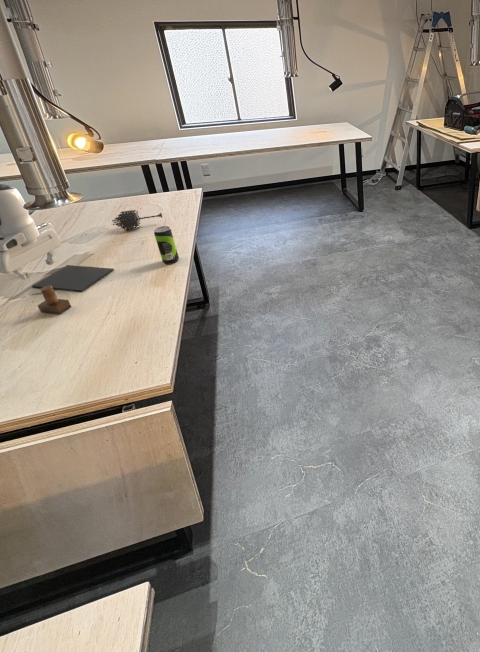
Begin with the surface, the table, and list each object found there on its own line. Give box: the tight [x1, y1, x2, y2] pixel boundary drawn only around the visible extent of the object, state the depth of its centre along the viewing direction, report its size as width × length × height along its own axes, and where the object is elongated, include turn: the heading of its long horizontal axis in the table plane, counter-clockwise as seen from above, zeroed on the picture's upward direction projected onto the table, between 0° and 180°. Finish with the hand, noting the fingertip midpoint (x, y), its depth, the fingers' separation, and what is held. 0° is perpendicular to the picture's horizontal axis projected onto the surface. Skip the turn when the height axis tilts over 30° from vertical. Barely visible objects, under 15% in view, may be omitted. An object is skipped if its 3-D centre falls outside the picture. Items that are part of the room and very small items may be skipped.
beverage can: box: [153, 225, 180, 265], centre depth 170 cm, size 6×6×15 cm
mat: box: [31, 264, 115, 293], centre depth 162 cm, size 22×16×1 cm
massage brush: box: [111, 209, 163, 231], centre depth 203 cm, size 9×22×9 cm, turn 113°
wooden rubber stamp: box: [37, 286, 72, 315], centre depth 142 cm, size 8×4×9 cm, turn 80°
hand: (38, 270), depth 137 cm, fingers open, 8 cm apart
